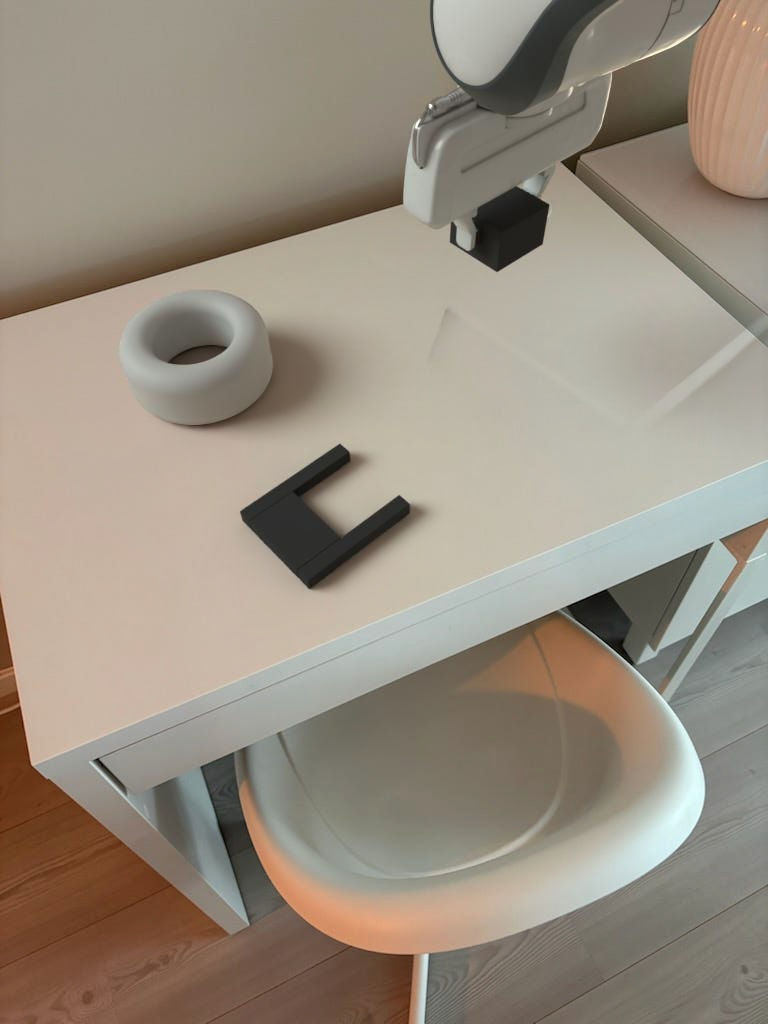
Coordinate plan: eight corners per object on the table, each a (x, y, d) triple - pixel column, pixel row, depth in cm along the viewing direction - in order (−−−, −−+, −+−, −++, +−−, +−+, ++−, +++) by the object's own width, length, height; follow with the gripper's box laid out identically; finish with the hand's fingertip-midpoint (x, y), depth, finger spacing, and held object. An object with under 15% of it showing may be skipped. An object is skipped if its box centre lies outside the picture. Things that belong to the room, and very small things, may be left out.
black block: (543, 244, 68) (550, 204, 65) (497, 272, 66) (501, 232, 62) (495, 216, 71) (499, 176, 67) (449, 242, 68) (451, 202, 65)
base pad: (410, 513, 70) (410, 503, 68) (309, 589, 65) (307, 581, 64) (341, 452, 74) (339, 443, 73) (242, 520, 70) (239, 511, 68)
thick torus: (109, 415, 78) (86, 368, 72) (170, 321, 86) (154, 273, 81) (244, 442, 75) (231, 395, 70) (293, 343, 83) (286, 294, 78)
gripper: (445, 126, 50) (438, 295, 61) (637, 32, 58) (599, 198, 69) (383, 93, 53) (387, 260, 64) (574, 8, 61) (547, 171, 72)
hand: (498, 227), depth 67 cm, fingers closed on black block, 6 cm apart
